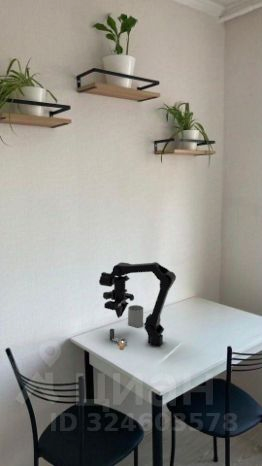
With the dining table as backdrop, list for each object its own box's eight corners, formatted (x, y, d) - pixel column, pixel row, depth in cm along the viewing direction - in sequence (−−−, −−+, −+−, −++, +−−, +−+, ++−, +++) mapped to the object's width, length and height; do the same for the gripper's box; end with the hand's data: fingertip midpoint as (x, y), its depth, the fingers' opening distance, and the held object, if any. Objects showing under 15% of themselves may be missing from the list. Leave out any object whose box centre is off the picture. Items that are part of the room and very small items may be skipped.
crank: (128, 343, 194) (128, 332, 192) (123, 347, 190) (123, 335, 189) (112, 338, 199) (112, 327, 198) (107, 341, 195) (107, 330, 194)
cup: (141, 328, 215) (141, 311, 213) (126, 327, 216) (127, 310, 214) (144, 322, 223) (144, 305, 221) (129, 321, 224) (130, 304, 222)
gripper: (117, 280, 209) (117, 308, 212) (95, 289, 193) (95, 319, 196) (134, 284, 203) (134, 312, 206) (113, 294, 187) (113, 324, 190)
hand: (119, 317), depth 200 cm, fingers closed
